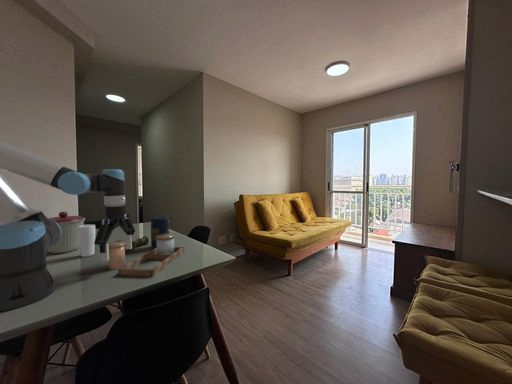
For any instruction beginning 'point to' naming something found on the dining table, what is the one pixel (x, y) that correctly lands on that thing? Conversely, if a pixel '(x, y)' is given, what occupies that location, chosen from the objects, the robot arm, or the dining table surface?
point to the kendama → (137, 243)
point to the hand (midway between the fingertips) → (117, 254)
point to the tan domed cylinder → (116, 255)
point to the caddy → (150, 255)
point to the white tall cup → (86, 239)
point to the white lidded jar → (165, 243)
